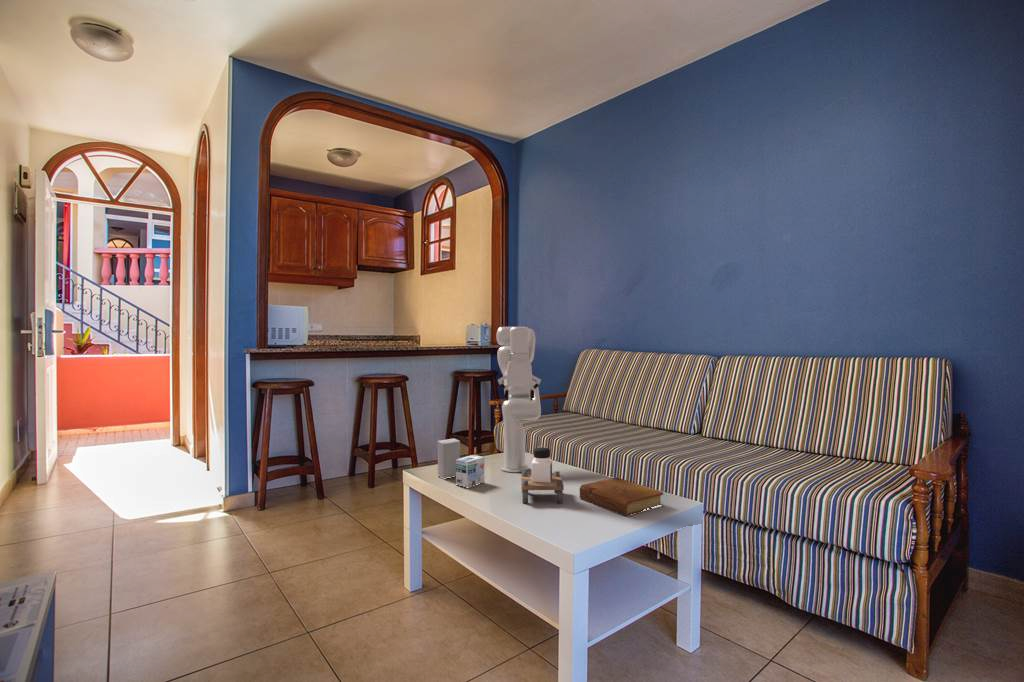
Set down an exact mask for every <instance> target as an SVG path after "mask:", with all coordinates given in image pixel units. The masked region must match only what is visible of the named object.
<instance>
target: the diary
mask: <svg viewBox="0 0 1024 682" xmlns="http://www.w3.org/2000/svg"><path fill="white" fill-rule="evenodd" d="M663 495H664V491H662V490H658V489H655V488H652V487H648V486H645V485H642V484H639V483H635V482H633V481H630V480H626V479H622V478H619V477H612V478H608V479H603V480H598V481H593V482H588V483H583V484H581V485H580V487H579V499H580V500H582V501H584V500H585V501H584V502H587V503H590V504H592V503H593V505H595V506H597V505H598V506H597V507H600V506H601V507H600V508H603V509H605V508H606V510H608V509H609V511H610V510H611V512H613V511H614V512H613V513H616V512H617V513H616V514H618V513H619V515H621V514H622V515H621V516H623V515H625V516H624V517H626V516H627V515H631V514H634V513H638V512H641V511H643V510H644V509H646V510H647V508H649V509H652V508H651V507H654V506H657V505H662V504H661V502H662V497H661V496H663ZM638 514H639V513H638ZM634 515H635V514H634ZM631 516H632V515H631ZM627 517H628V516H627Z"/></svg>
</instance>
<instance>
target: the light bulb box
mask: <svg viewBox="0 0 1024 682" xmlns="http://www.w3.org/2000/svg"><path fill="white" fill-rule="evenodd" d="M482 482H484V483H485V456H480V455H475V454H471V455H468V456H464V457H460V459H456V477H455V485H456V484H457V485H460V486H464V487H470V486H473V485H476V484H479V483H482ZM479 485H480V484H479ZM460 486H459V487H460ZM476 486H477V485H476ZM464 487H463V488H464ZM473 487H474V486H473ZM470 488H471V487H470Z"/></svg>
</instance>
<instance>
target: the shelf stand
mask: <svg viewBox="0 0 1024 682" xmlns="http://www.w3.org/2000/svg"><path fill="white" fill-rule="evenodd" d="M553 473H554V474H552V480H551V483H542V482H532V474H528V471H523V472H521V475H520V480H521V481H520V483H521V493H522V504H523V503H524V504H523V505H527V503H528V504H529V491H554V494H556V503H557V504H559V505H561V504H563V492H564V490H565V488H564V487H565V485H564V483H563V480H562V476H561V475H560V471H559V470H558V471H557V470H556V471H554V472H553Z"/></svg>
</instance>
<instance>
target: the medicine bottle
mask: <svg viewBox="0 0 1024 682" xmlns="http://www.w3.org/2000/svg"><path fill="white" fill-rule="evenodd" d="M530 466H531V471H530V473H531V475H532V482H542V483H551V480H552V475H553V459H551V449H550V448H548V447H545V446H538V447H535V448H534V449H533V459H532V461H531V465H530Z"/></svg>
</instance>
